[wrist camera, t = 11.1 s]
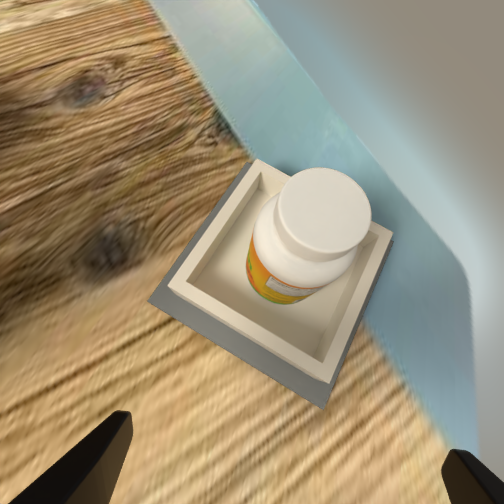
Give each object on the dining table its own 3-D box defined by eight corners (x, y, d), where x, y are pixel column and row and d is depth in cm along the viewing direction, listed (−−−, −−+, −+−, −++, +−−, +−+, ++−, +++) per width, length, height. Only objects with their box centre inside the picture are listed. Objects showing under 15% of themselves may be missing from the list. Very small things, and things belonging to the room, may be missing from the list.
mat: (321, 408, 19) (323, 409, 18) (148, 302, 20) (147, 301, 20) (390, 243, 23) (393, 241, 23) (246, 165, 25) (246, 161, 24)
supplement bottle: (255, 227, 22) (277, 138, 12) (322, 246, 22) (394, 171, 12) (236, 294, 20) (245, 248, 11) (309, 315, 20) (382, 286, 11)
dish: (313, 378, 19) (329, 383, 16) (175, 294, 20) (167, 285, 17) (372, 246, 23) (393, 232, 20) (252, 181, 24) (256, 158, 21)
